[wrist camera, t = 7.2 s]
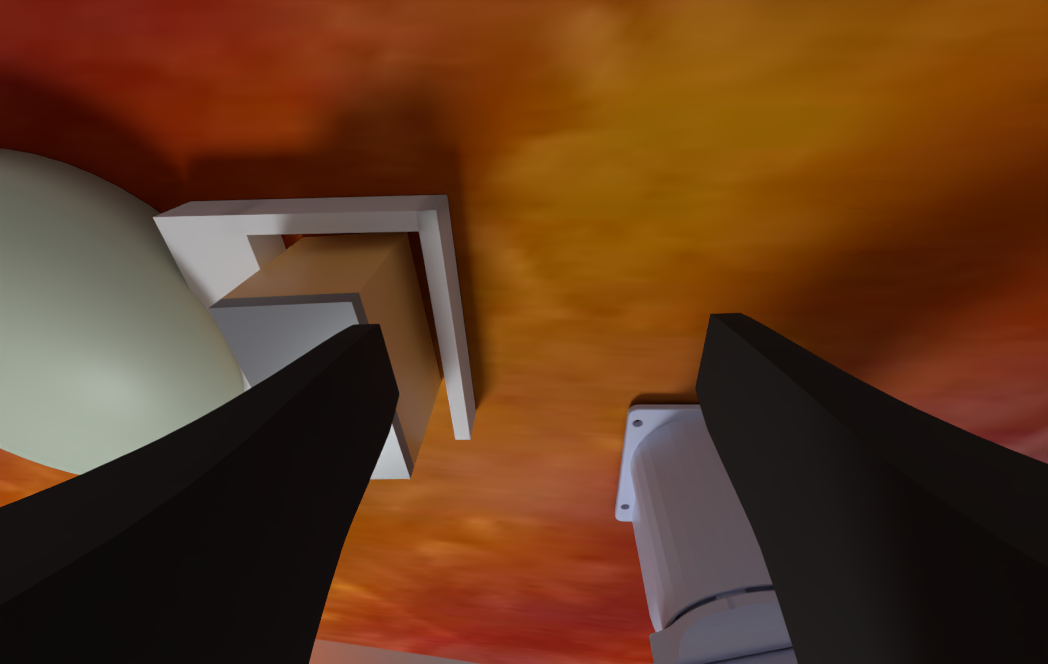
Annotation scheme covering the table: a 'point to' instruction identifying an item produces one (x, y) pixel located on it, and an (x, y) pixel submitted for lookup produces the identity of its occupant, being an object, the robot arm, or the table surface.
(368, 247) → the rectangular flat-faced block
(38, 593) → the robot arm
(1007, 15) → the table surface
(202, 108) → the table surface
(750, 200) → the table surface
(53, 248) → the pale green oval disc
